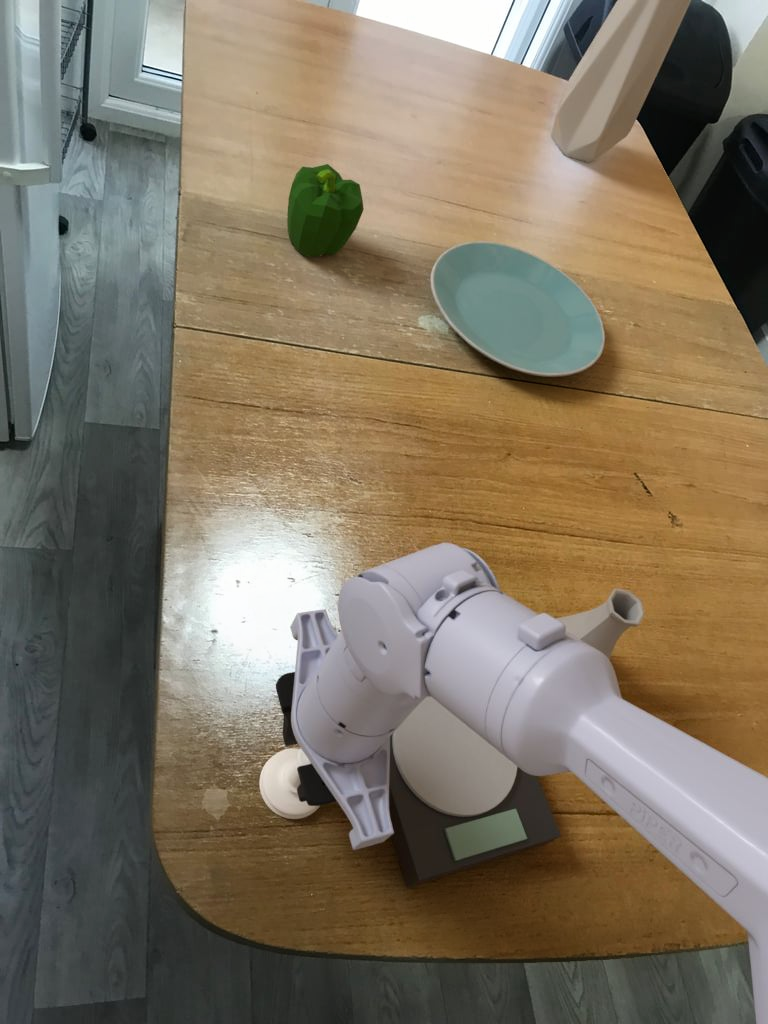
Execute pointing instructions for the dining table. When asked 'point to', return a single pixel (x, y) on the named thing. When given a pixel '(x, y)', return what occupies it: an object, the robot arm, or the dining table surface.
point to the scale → (458, 798)
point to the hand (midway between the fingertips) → (304, 766)
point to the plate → (517, 309)
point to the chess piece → (285, 784)
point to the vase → (615, 76)
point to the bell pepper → (322, 210)
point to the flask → (606, 621)
